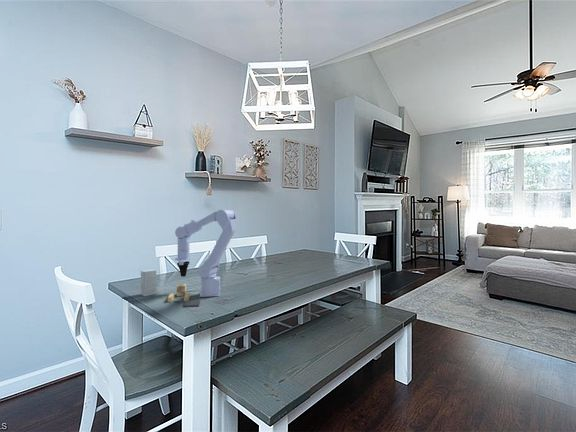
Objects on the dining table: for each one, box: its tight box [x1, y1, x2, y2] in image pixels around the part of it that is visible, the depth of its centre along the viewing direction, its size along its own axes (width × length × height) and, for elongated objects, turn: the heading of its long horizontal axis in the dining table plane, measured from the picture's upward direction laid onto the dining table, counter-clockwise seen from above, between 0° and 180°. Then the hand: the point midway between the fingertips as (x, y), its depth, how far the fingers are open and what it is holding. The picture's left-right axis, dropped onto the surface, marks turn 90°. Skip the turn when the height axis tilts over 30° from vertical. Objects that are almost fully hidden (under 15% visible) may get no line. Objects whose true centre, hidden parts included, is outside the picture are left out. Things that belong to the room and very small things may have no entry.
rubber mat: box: [183, 299, 201, 308], centre depth 132 cm, size 6×6×1 cm
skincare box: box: [140, 268, 158, 297], centre depth 145 cm, size 6×4×12 cm
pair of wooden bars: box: [167, 292, 191, 303], centre depth 138 cm, size 9×6×2 cm
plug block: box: [176, 283, 187, 297], centre depth 145 cm, size 4×4×5 cm
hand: (183, 276), depth 150 cm, fingers closed
